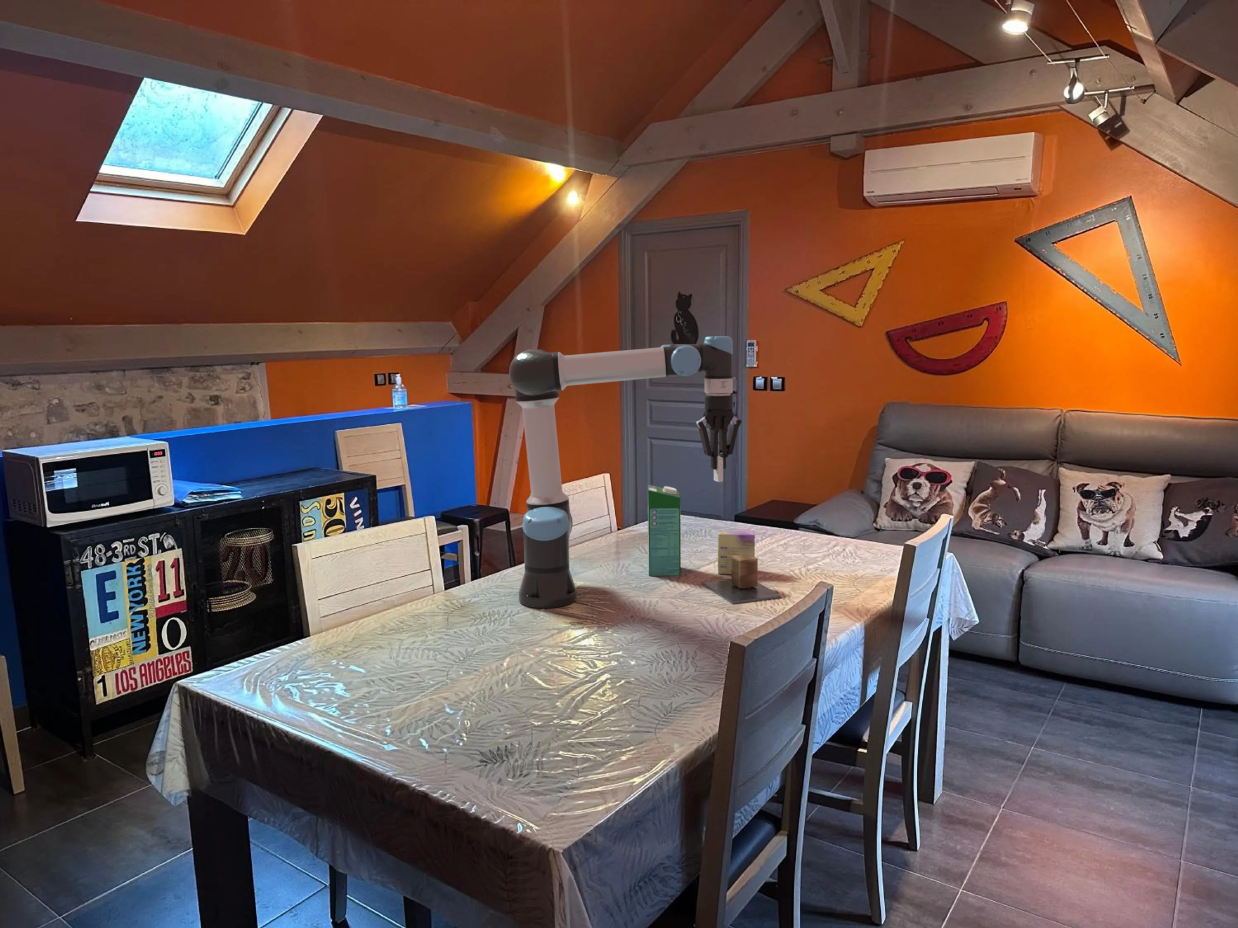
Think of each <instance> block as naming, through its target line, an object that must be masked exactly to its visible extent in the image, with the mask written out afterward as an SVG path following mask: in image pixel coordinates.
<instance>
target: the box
mask: <svg viewBox="0 0 1238 928" xmlns="http://www.w3.org/2000/svg"><path fill="white" fill-rule="evenodd" d="M755 543H756V535H755V531H754V530H747V529H746V530H742V529H740V530H736V529H735V530H734V529H733V530H732V529H731V530H730V529H729V530H728V529H718V533H717V572H718V573H717V574H719V575H723V574H725V575H728V574H729V575H731V556H734V555H744V554H750V555H752V556H754V557H755V553H756V552H755V550H756V548H755V547H756V546H755V545H756V544H755Z"/></svg>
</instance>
